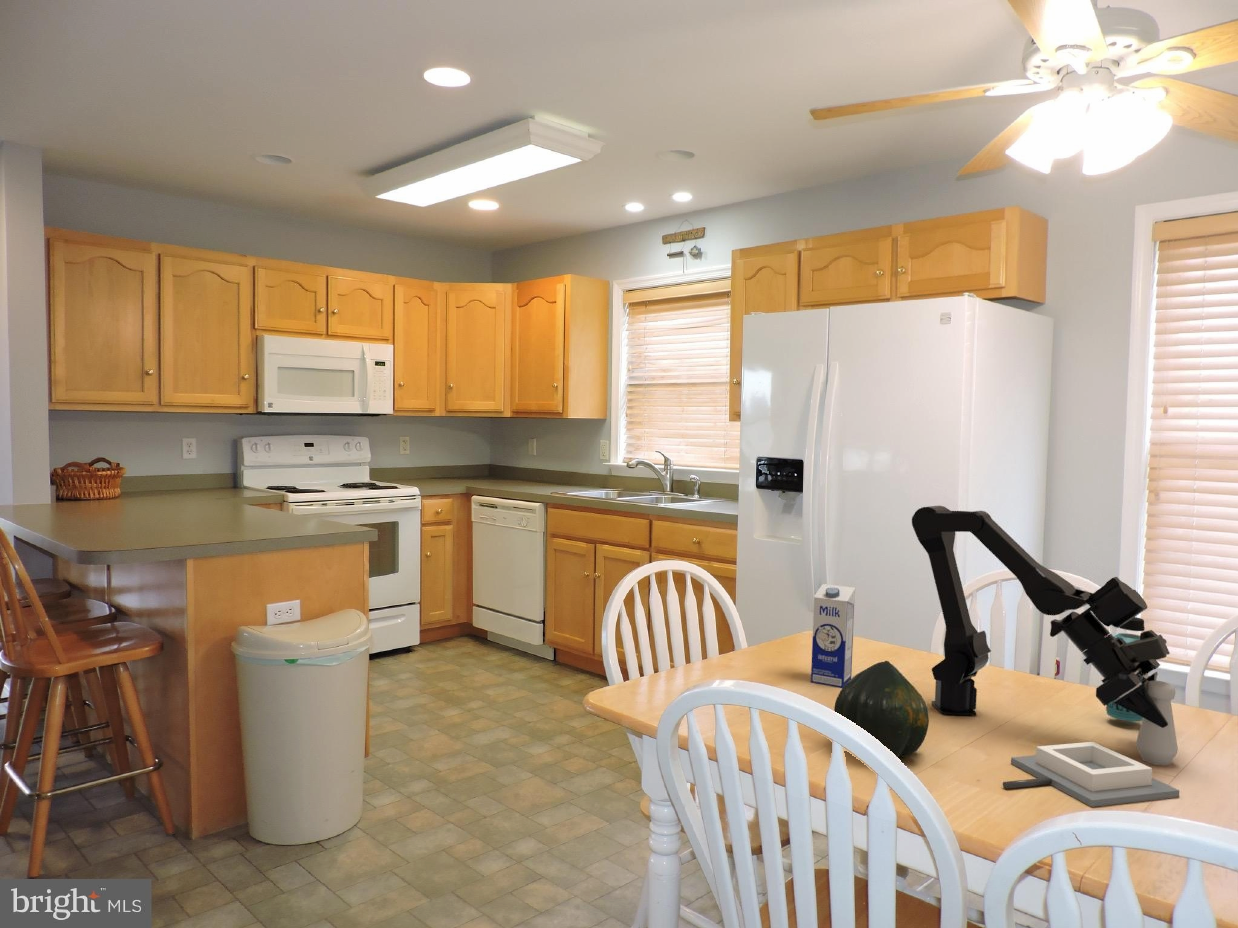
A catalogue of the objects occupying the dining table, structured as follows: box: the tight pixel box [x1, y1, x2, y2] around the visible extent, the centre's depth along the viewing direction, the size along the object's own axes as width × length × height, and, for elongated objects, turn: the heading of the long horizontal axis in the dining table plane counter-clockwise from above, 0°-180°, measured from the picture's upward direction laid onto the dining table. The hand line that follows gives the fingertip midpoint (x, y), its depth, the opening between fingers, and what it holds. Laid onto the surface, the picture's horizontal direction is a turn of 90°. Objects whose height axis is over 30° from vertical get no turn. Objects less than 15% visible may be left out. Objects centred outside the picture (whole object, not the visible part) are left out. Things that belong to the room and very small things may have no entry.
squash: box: [833, 660, 930, 757], centre depth 140 cm, size 14×15×15 cm
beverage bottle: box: [1105, 616, 1149, 723], centre depth 156 cm, size 6×7×20 cm
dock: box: [1002, 741, 1180, 808], centre depth 129 cm, size 24×16×4 cm, turn 106°
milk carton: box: [810, 583, 856, 689], centre depth 178 cm, size 7×7×20 cm
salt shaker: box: [1135, 680, 1179, 767], centre depth 139 cm, size 6×6×13 cm
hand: (1168, 723), depth 138 cm, fingers closed on salt shaker, 3 cm apart
